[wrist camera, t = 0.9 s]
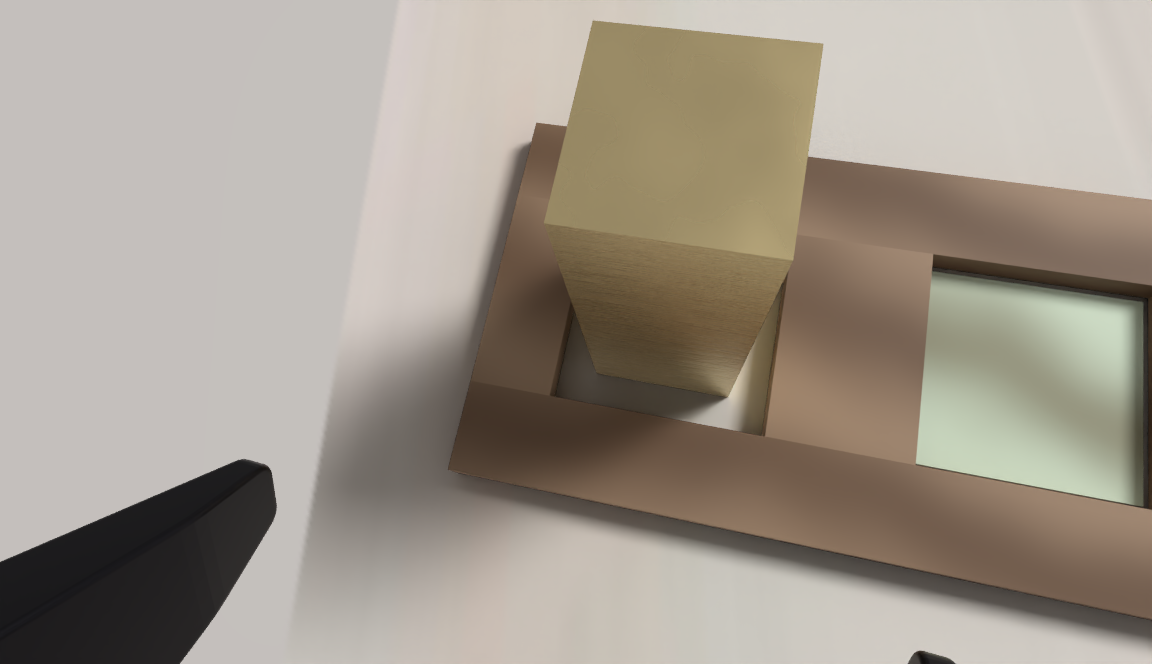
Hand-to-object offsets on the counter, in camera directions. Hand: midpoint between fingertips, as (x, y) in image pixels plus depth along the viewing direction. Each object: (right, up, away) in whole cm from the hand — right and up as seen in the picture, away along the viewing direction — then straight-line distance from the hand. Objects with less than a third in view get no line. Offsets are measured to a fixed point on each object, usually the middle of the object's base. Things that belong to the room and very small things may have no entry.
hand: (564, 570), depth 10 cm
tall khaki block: (+3, +4, +15) cm, 16 cm away
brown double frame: (+9, +3, +14) cm, 17 cm away
